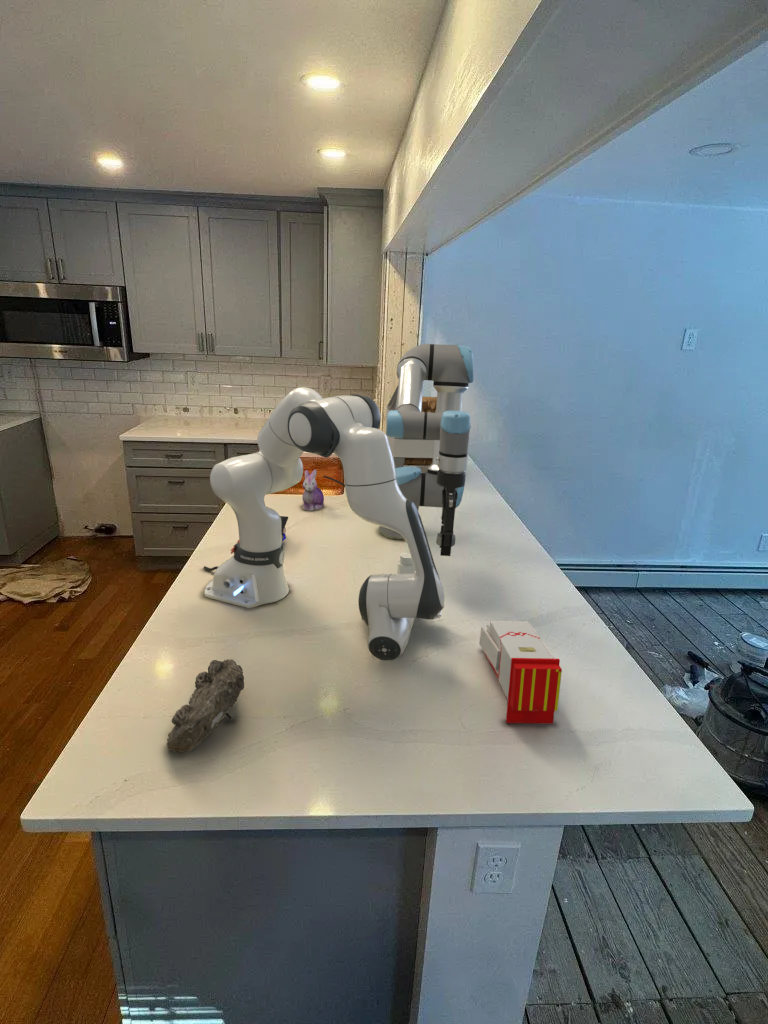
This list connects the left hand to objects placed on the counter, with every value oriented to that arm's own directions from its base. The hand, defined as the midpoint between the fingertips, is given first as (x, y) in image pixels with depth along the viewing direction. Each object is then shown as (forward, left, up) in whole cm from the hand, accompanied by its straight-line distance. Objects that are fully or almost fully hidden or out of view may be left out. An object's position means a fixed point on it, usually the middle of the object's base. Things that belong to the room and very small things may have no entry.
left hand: (405, 587), depth 148 cm
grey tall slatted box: (-13, +132, -7) cm, 133 cm away
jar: (0, -1, -7) cm, 7 cm away
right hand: (+9, +14, +5) cm, 18 cm away
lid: (+9, +14, +10) cm, 19 cm away
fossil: (-29, -50, -7) cm, 59 cm away
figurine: (-47, +69, -7) cm, 84 cm away
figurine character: (-48, +32, -7) cm, 58 cm away
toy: (+28, -25, -7) cm, 38 cm away
